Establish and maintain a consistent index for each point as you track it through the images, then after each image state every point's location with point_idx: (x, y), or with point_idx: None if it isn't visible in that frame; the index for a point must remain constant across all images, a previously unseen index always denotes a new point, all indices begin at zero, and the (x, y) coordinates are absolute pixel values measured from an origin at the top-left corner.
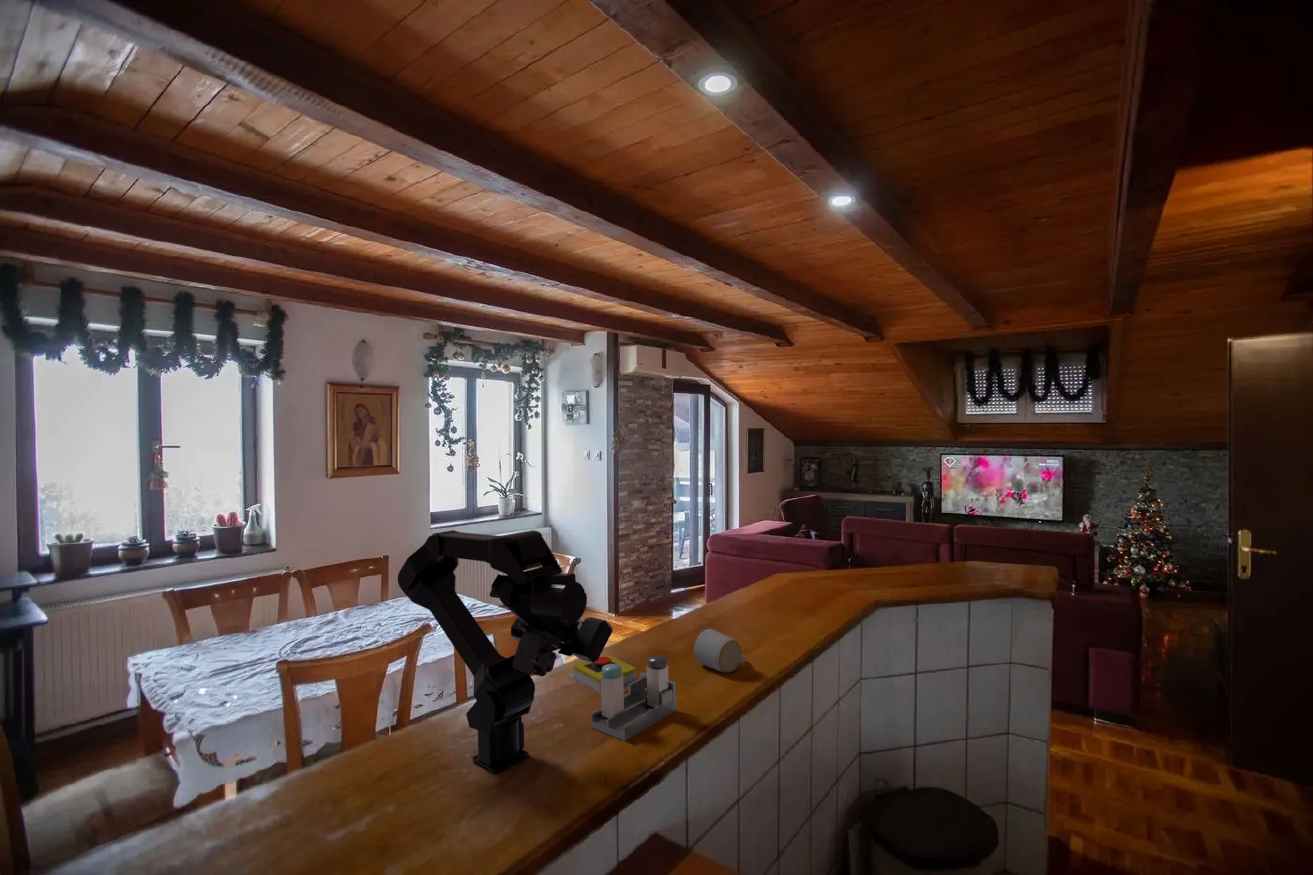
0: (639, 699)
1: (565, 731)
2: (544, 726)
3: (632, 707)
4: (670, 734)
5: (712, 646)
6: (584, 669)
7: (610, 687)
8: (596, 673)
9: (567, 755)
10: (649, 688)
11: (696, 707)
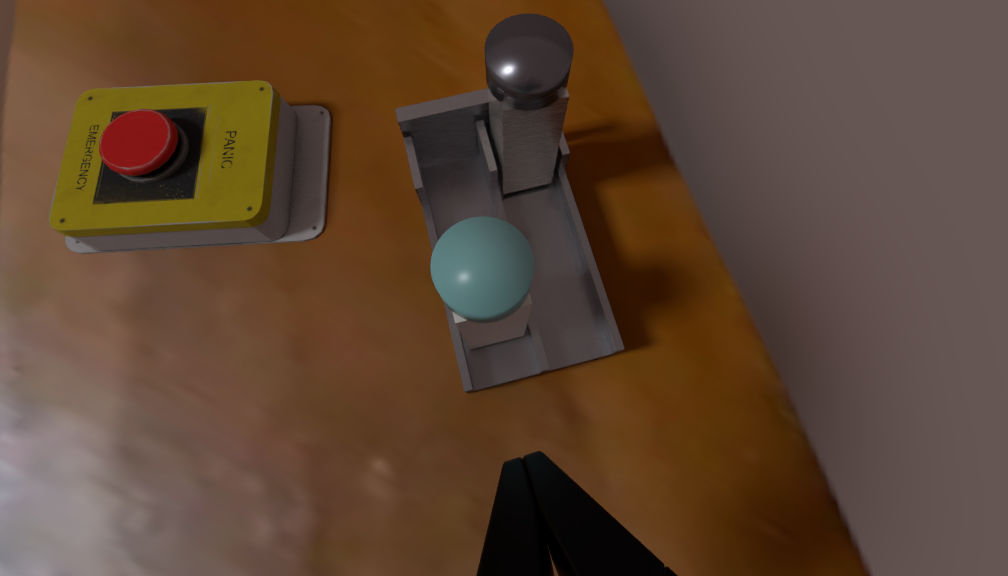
0: (443, 187)
1: (435, 478)
2: (352, 523)
3: None
4: (653, 230)
5: None
6: (126, 218)
7: (517, 315)
8: (195, 203)
9: None
10: (514, 160)
11: None
